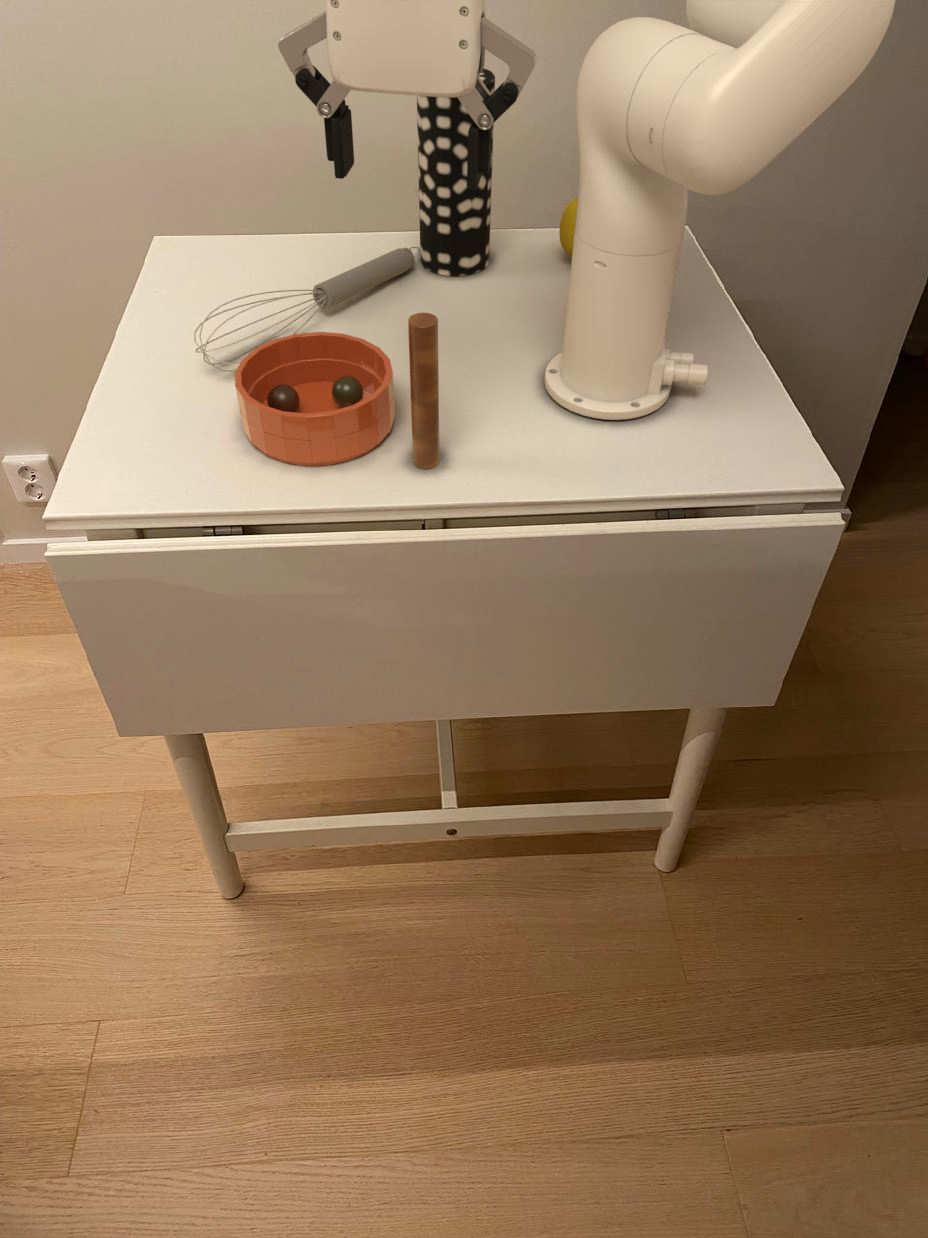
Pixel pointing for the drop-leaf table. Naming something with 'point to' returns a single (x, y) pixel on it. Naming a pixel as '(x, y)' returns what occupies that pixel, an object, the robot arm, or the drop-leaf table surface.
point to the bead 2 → (347, 391)
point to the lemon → (568, 226)
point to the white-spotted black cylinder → (451, 189)
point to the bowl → (316, 398)
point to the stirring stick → (424, 389)
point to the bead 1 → (283, 398)
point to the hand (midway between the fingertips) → (409, 176)
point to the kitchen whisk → (327, 292)
